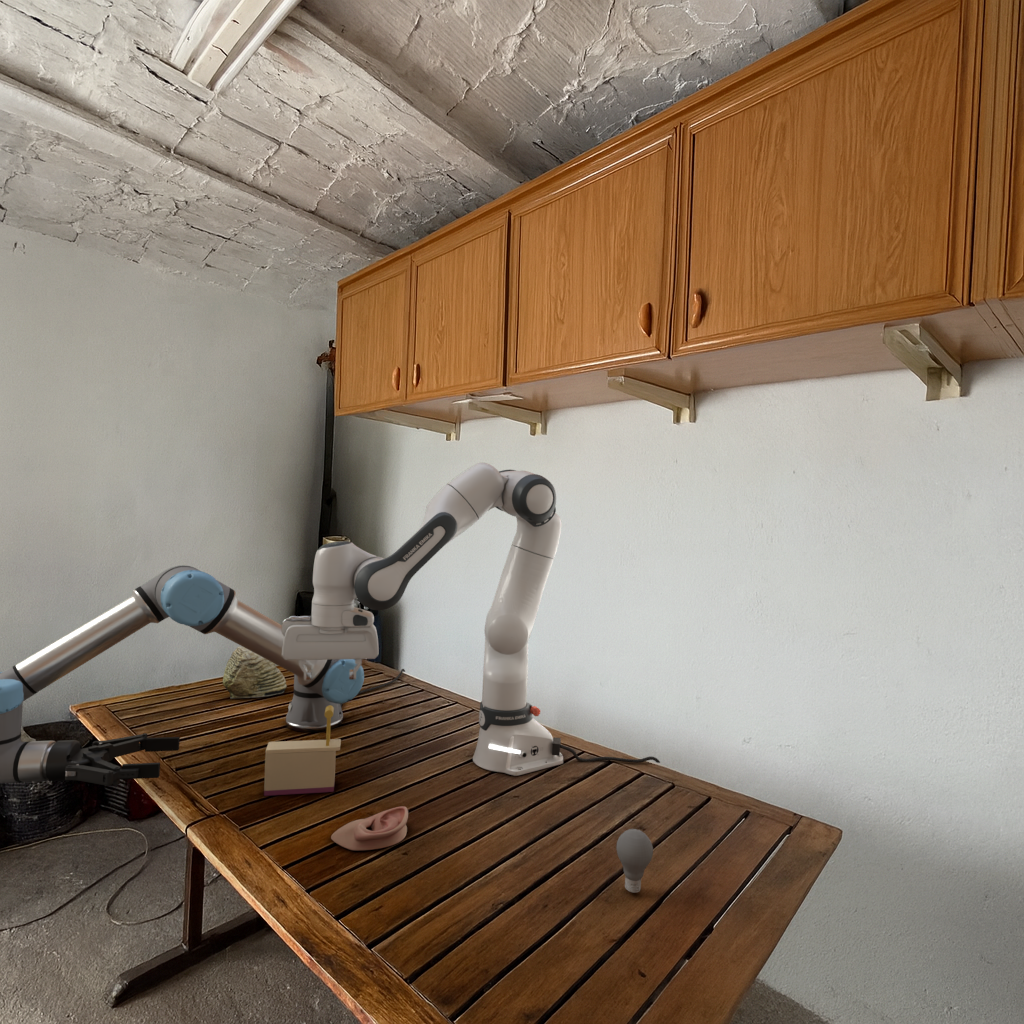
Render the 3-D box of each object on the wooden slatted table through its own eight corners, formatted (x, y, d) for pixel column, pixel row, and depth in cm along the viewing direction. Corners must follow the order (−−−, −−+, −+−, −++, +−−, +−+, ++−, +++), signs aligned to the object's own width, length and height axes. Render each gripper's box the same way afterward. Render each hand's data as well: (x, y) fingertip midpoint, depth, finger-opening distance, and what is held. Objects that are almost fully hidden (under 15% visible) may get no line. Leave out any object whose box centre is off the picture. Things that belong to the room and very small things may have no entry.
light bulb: (610, 879, 108) (613, 822, 108) (644, 879, 109) (647, 822, 109) (619, 902, 102) (622, 840, 102) (655, 901, 103) (658, 840, 103)
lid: (340, 742, 141) (342, 703, 141) (340, 750, 136) (341, 710, 136) (268, 745, 137) (270, 706, 137) (265, 754, 133) (267, 713, 133)
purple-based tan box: (334, 782, 141) (336, 743, 141) (333, 791, 136) (335, 751, 136) (267, 786, 138) (268, 745, 137) (263, 795, 133) (265, 754, 133)
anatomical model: (323, 824, 115) (352, 795, 126) (322, 845, 115) (351, 815, 126) (392, 835, 112) (415, 805, 123) (391, 857, 112) (414, 825, 123)
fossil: (218, 695, 195) (220, 647, 195) (278, 685, 208) (279, 640, 207) (228, 703, 189) (230, 653, 188) (289, 692, 201) (290, 645, 201)
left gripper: (79, 754, 138) (185, 750, 143) (18, 809, 114) (148, 802, 119) (80, 720, 138) (186, 717, 143) (20, 768, 114) (150, 763, 119)
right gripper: (280, 618, 132) (277, 684, 132) (380, 618, 137) (377, 682, 137) (283, 613, 138) (281, 676, 138) (379, 613, 143) (377, 674, 143)
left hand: (169, 756), depth 131 cm, fingers open, 13 cm apart
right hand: (330, 679), depth 138 cm, fingers open, 8 cm apart
